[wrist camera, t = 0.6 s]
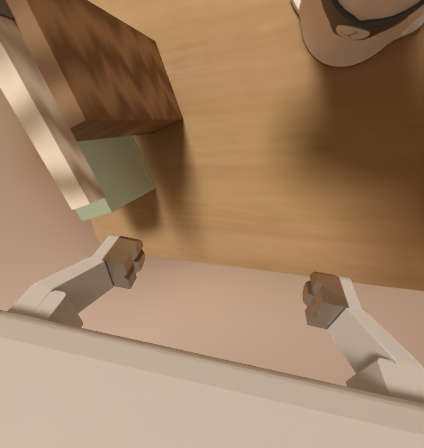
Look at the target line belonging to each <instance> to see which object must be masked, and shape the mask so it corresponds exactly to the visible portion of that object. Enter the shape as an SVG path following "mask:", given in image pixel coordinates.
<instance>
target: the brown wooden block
mask: <svg viewBox="0 0 424 448" xmlns="http://www.w3.org/2000/svg"><path fill="white" fill-rule="evenodd" d="M6 2H7V4H8V6H9V8H10V10H11V12H12V14H13V15H14V17H15V19H14V20H13V21H14V23H15V24H16V26H17V28H18V30H19V32H20V34H21V36H22V38H23V40H24V42H25V44H26V46H27V47H28V49H29V51H30V53H31V55H32V57H33V59H34V61H35V63H36V65H37V67H38V68H39V70H40V72H41V74H42V76H43V78H44V80H45V82H46V84H47V86H48V88H49V89H50V91H51V93H52V95H53V97H54V99H55V101H56V103H57V105H58V107H59V109H60V110H61V112H62V114H63V116H64V118H65V120H66V122H67V124H68V126H69V128H70V130H71V132H72V133H73V135H74V137H75V139H76V141H77V142H78V141H87V140H96V139H105V138H114V137H123V136H131V135H140V134H149V133H154V132H156V131H158V130H160V129H163V128H165V127H167V126H169V125H171V124H174V123H176V122H178V121H180V120H183V117H182V114H181V112H180V109H179V106H178V103H177V101H176V98H175V95H174V92H173V90H172V87H171V84H170V81H169V78H168V76H167V73H166V70H165V67H164V65H163V62H162V59H161V56H160V54H159V51H158V48H157V45H156V43H155V41H154V40H152V39H151V38H149V37H147V36H146V35H144V34H142V33H141V32H139V31H137V30H136V29H134V28H132V27H131V26H129V25H127V24H126V23H124V22H122V21H121V20H119V19H117V18H116V17H114V16H112V15H111V14H109V13H107V12H106V11H104V10H102V9H101V8H99V7H97V6H96V5H94V4H92V3H91V2H89V1H87V0H6Z"/></svg>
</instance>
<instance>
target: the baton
mask: <svg viewBox="0 0 424 448" xmlns="http://www.w3.org/2000/svg"><path fill="white" fill-rule="evenodd" d="M14 19H15V17H14V15H13V14H12V12H11V10H10V8H9V6H8V4H7V2H6V0H0V88H1V90H2V91H3V93H4V94H5V96H6V98H7V100H8V101H9V103H10V105H11V107H12V108H13V110H14V112H15V113H16V115H17V117H18V119H19V120H20V122H21V124H22V125H23V127H24V129H25V131H26V132H27V134H28V136H29V137H30V139H31V141H32V143H33V144H34V146H35V148H36V149H37V151H38V153H39V154H40V156H41V158H42V160H43V161H44V163H45V164H46V166H47V168H48V170H49V171H50V173H51V175H52V177H53V178H54V180H55V182H56V183H57V185H58V187H59V189H60V190H61V192H62V194H63V195H64V197H65V199H66V200H67V202H68V204H69V206H70V207H71V209H72V210H74V209H77V208H80V207H82V206H85V205H88V204H91V203H93V202H95V201H98V200H100V199H102V198H104V197H106V196H105V195H104V193H103V191H102V189H101V187H100V185H99V183H98V181H97V179H96V177H95V175H94V174H93V172H92V170H91V168H90V166H89V164H88V162H87V160H86V158H85V156H84V154H83V153H82V151H81V149H80V147H79V145H78V143H77V141H76V139H75V137H74V135H73V133H72V132H71V130H70V128H69V126H68V124H67V122H66V120H65V118H64V116H63V114H62V112H61V110H60V109H59V107H58V105H57V103H56V101H55V99H54V97H53V95H52V93H51V91H50V89H49V88H48V86H47V84H46V82H45V80H44V78H43V76H42V74H41V72H40V70H39V68H38V67H37V65H36V63H35V61H34V59H33V57H32V55H31V53H30V51H29V49H28V47H27V46H26V44H25V42H24V40H23V38H22V36H21V34H20V32H19V30H18V28H17V26H16V24H15V23H14V21H13V20H14Z"/></svg>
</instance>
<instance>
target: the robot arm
mask: <svg viewBox="0 0 424 448" xmlns="http://www.w3.org/2000/svg"><path fill="white" fill-rule="evenodd" d="M291 3H292V5H293V7H294V9H295V10H296V12H297V14H298V15H299V17H300V22H301V29H302V35H303V39H304V42H305V44H306V46H307V48H308V50H309V51H310V53H311V54H312V55H313V56H314V57H315V58H316V59H317V60H319V61H320V62H322V63H324V64H327V65H330V66H336V67H344V66H350V65H354V64H357V63H360V62H363V61H365V60H367V59H368V58H370V57H372V56H373V55H375V54H376V53H378V52H379V51H380V50H382V49H383V48H384V47H385V46H386V45H388V44H389V43H390V42H392V41H393V40H395V39H398V38H401V37H403V36H406V35H408V34H410V33H412V32H414V31H416V30H417V29H418V28H419V27H420V26H421V25H422V24H423V23H424V0H291ZM142 247H143V243H142V241H141V240H138V239H133V238H128V237H123V236H118V235H113V234H111V235H109V236H108V237H107V238H106V240H105V241H104V242H103V243H102V245H101V246H100V247H99V248H98V250H97V251H96V252H95V253H94V255H93V256H92V257H91V258H86V259H84V260H82V261H80V262H78V263H76V264H74V265H72V266H70V267H68V268H66V269H64V270H61V271H59V272H58V273H55V274H53V275H51V276H49V277H47V278H45V279H43V280H41V281H39V282H37V283H35V284H33V285H32V286H31V287H30V288H29V289H28V290H27V291H26V292H25V293H24V294H23V295H22V296H21V297H20V298H19V300H17V301H16V303H15V304H14V305H13V306H12V307H11V308H10V309H9V310H8V311H3V310H0V448H424V369H423V367H422V365H420V363H418V362H417V360H416V359H414V358H413V357H412V356H411V355H410V354H409V353H408V352H407V351H406V350H405V349H404V348H403V347H402V346H401V345H400V344H399V343H398V342H397V341H396V340H395V339H394V338H393V337H392V336H391V335H390V334H389V333H388V332H387V331H386V330H385V329H384V328H383V327H382V326H381V325H380V324H379V323H378V322H377V321H376V320H375V319H374V318H373V317H372V316H371V315H370V314H369V313H368V312H366V311H363V309H362V307H361V304H360V302H359V299H358V296H357V294H356V292H355V289H354V287H353V284H352V281H351V279H350V278H348V277H343V276H336V275H332V274H326V273H320V272H313V273H311V275H310V281H308V282H306V284H305V286H304V290H303V301H304V303H305V304H306V305H307V309H306V310H305V313H306V319H307V324H308V325H311V326H316V327H319V328H324V329H327V331H328V333H329V334H330V336H331V337H332V339H333V340H334V342H335V343H336V345H337V346H338V347H339V349H340V350H341V352H342V353H343V355H344V356H345V358H346V359H347V361H348V362H349V363H350V365H351V366H352V368H353V369H354V371H355V372H356V375H354V376H353V377H352V378H350V379H349V380H348V381H347V382H346V384H347V387H345V386H341V385H336V384H332V383H327V382H323V381H319V380H314V379H310V378H305V377H301V376H296V375H291V374H287V373H283V372H278V371H274V370H269V369H264V368H260V367H256V366H251V365H247V364H242V363H237V362H233V361H228V360H224V359H219V358H214V357H210V356H206V355H201V354H197V353H192V352H188V351H183V350H179V349H174V348H170V347H165V346H161V345H156V344H152V343H147V342H142V341H138V340H134V339H129V338H124V337H120V336H115V335H111V334H107V333H101V332H98V331H93V330H88V329H84V328H81V327H82V325H83V322H82V320H81V318H80V317H79V315H78V313H79V312H80V311H82V310H83V309H84V308H86V307H87V306H88V305H90V304H91V303H93V302H94V301H95V300H97V299H98V298H99V297H101V296H102V295H103V294H105V293H106V292H107V291H109V290H110V289H111V288H113V286H117V287H122V288H128V289H131V287H132V285H133V283H134V281H135V280H136V273H137V272H139V271H140V270H141V268H142V266H143V264H144V260H145V254H144V251H143V250H142Z"/></svg>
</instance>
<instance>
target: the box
mask: <svg viewBox="0 0 424 448" xmlns="http://www.w3.org/2000/svg"><path fill="white" fill-rule="evenodd" d="M77 143H78V145H79V147H80V149H81V151H82V153H83V154H84V156H85V158H86V160H87V162H88V164H89V166H90V168H91V170H92V172H93V174H94V175H95V177H96V179H97V181H98V183H99V185H100V187H101V189H102V191H103V193H104V195H105V196H106V197H104V198H102V199H100V200H98V201H95V202H93V203H91V204H88V205H85V206H82V207H80V208H77V209H75V210H76V211H77V213H78V215H79V217H80V218H81V220H82V221H85V220H88V219H91V218H95V217H98V216H101V215H105V214H108V213H111V212H113V211H115V210H117V209H119V208H121V207H122V206H124V205H126V204H128V203H130V202H132V201H133V200H135V199H137V198H139V197H141V196H142V195H144V194H146V193H148V192H150V191H152V190H153V189H155V186H154V183H153V181H152V179H151V177H150V174H149V172H148V170H147V168H146V165H145V163H144V161H143V158H142V156H141V154H140V152H139V149H138V147H137V145H136V143H135V140H134V138H133V136H132V135H131V136H123V137H114V138H105V139H96V140H87V141H78V142H77Z"/></svg>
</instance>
